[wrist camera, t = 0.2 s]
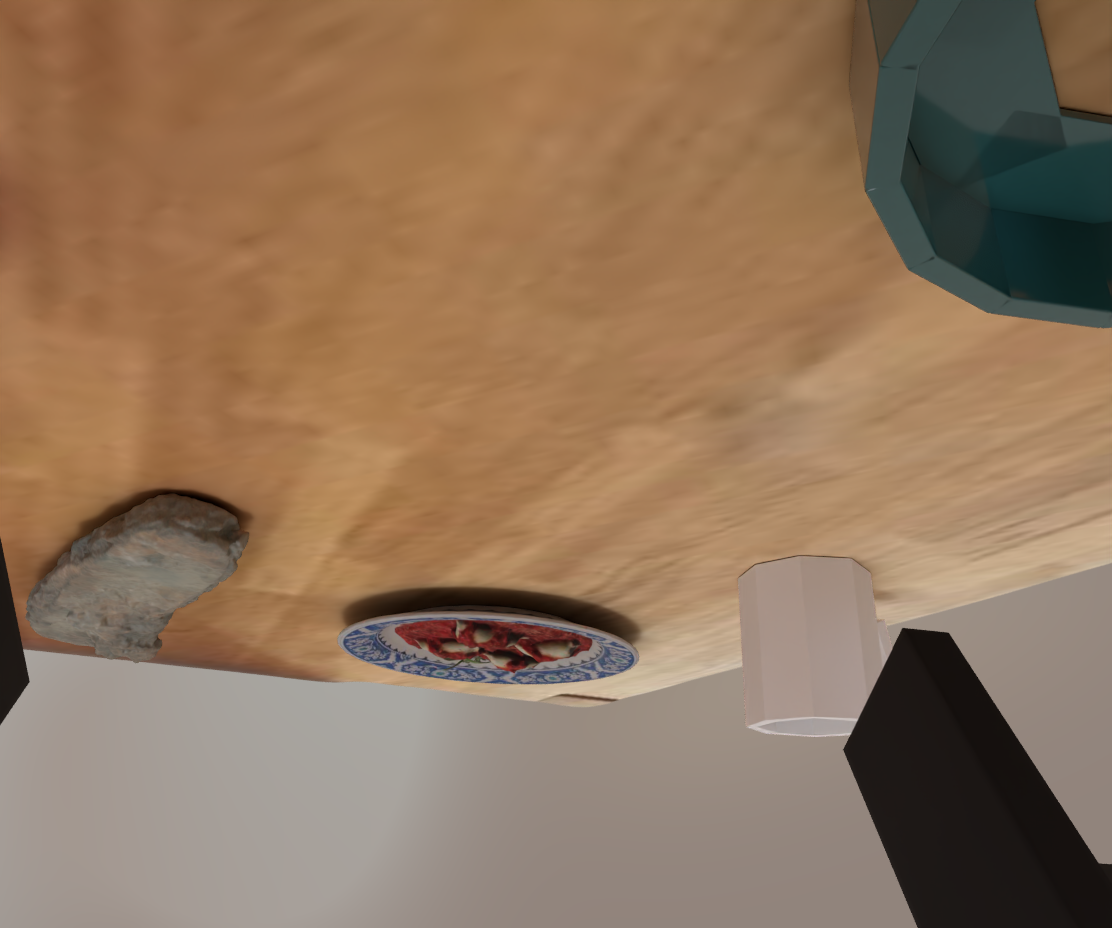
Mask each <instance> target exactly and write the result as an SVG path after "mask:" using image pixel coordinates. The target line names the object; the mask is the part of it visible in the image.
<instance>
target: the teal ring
mask: <svg viewBox="0 0 1112 928" xmlns="http://www.w3.org/2000/svg"><path fill="white" fill-rule="evenodd" d="M1035 1H1036V0H856V9H855V20H854V32H853V44H852V56H851V68H850V80H849V89H850V96H851V102H852V109H853V116H854V122H855V129H856V136H857V142H858V149H859V155H860V162H861V169H862V175H863V182H864V188H865V192H866V194H867V196H868V197H869V199H870V201H871V203H872V205H873V207H874V209H875V210H876V212H877V214H878V216H879V218H880V220H881V221H882V223H883V225H884V227H885V229H886V231H887V233H888V234H889V236H890V238H891V240H892V242H893V244H894V245H895V247H896V249H897V251H898V253H899V255H900V257H901V258H902V260H903V262H904V264H905V266H906V267H907V268H908V270H909V271H911V272H913V273H915V274H917V275H918V276H920V277H922V278H924V279H926V280H928V281H929V282H931V283H933V284H935V285H937V286H939V287H941V288H942V289H944V290H946V291H948V292H950V293H952V294H953V295H955V296H957V297H959V298H961V299H963V300H965V301H966V302H968V303H970V304H972V305H974V306H976V307H977V308H979V309H981V310H983V311H985V312H987V313H991V314H998V315H1005V316H1012V317H1020V318H1027V319H1035V320H1042V321H1049V322H1057V323H1064V324H1072V325H1079V326H1087V327H1094V328H1100V327H1101V328H1112V117H1107V116H1101V115H1095V114H1089V113H1084V112H1078V111H1072V110H1066V109H1060V108H1059V103H1058V99H1057V95H1056V91H1055V86H1054V82H1053V78H1052V74H1051V69H1050V65H1049V61H1048V57H1047V53H1046V48H1045V44H1044V40H1043V36H1042V31H1041V27H1040V23H1039V19H1038V14H1037V10H1036V6H1035Z"/></svg>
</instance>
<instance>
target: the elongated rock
mask: <svg viewBox="0 0 1112 928" xmlns="http://www.w3.org/2000/svg"><path fill="white" fill-rule="evenodd" d="M248 539H249V532H246V531H242V530H240V528H239V524H238V520H237V517H236V516H234V515H233V514H231V513H229V512H228V511H226V510H224V509H222V508H219V507H217V506H214V505H213V504H211V503H206V502H203V501H199V500H197V499H191V498H189V497H187V496H186V497H184V496H179V495H177V494H175V493H172V494H167V495H158V496H156V497H155V498H149V499H147V500H146V501H145V502H144V503H142V504H141V505H137V506H134V507H133V508H132V509H131V510H130V511H128V512H126V513H124V514H121V515H119V516H117V517H113V518H112V519H111V520H110V521H108V522H106V523H105V524H104V525H103V526H101V527H98V528H96V529H94V531H93V532H91V533H90V534H88V535H86V536H83V537H81V538H79V539H78V540H76V541H74V542H73V545H72V548H71V552H65V553H63V554H62V555H61V557H60V558H59V559H58V562H57V566H56V567H54V569H53V571H51V572H49V573H48V574H47V575H46V576H45V578H44V579H42V580H40V581H39V582H38V583H37V584H36V585H35V587H34V588H33V589H32V591H31V593H30V595H29V598H28V601H27V608H26V610H27V611H28V612H27V613H26V619H27V620H28V621H30V626H31V627H32V628H33V630H35V631H36V633H38V634H39V635H41V636H43V637H47V638H50V639H54V640H58V641H62V642H67V643H71V644H75V645H83V646H90V647H94V648H95V653H96V654H97V655H103V656H104V657H106V658H108V659H115V658H116V657H122V656H125V657H128V658H130V659H131V660H132V661H133V662H135V663H138V662H140V661H142V660H150V659H152V658H153V657H155V656H156V654H157V652H158V650H159V649H160V648H161V646H162V640H160V639H159V638H158V634H159V633H161V632H162V631H163V629H164V628H165V626H166V625H167V624H168V621H169V620H170V619H171V617H172V615H173V612H174V611H175V610H176V609H177V608H180V607H185V606H186V605H187V604H189V603H191V602H194V601H195V600H198V597H199V596H200V595H201V594H202V593H204V592H209V591H211V590H212V589H213V588H214V587H216V586H217V585H218V584H219V582H222V581H224V580H226V579H227V578H228V577H229V576H231V575H232V574H233V573H234V571H236V569H237V568H238V565H237V563H236V562H237V560H238V559H239V558H240V557H241V556H242V551H243V550H244V549H245V547H246V545H247V542H248Z"/></svg>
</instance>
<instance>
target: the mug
mask: <svg viewBox="0 0 1112 928" xmlns="http://www.w3.org/2000/svg"><path fill="white" fill-rule="evenodd" d="M738 589H739V607H740V626H741V645H742V663H743V682H744V700H745V719H746V727H747V728H751V729H754V730H757V731H760V732H763V733H767V734H780V735H795V736H796V735H797V736H810V737H811V736H812V737H823V736H843V735H851V733H852V731H853V729H854V727H855V725H856V722H857V720H858V718H859V716H860V714H861V712H862V710H863V708H864V706H865V704H866V702H867V700H868V698H869V696H870V694H871V692H872V690H873V688H874V686H875V683H876V681H877V679H878V677H879V675H880V673H881V671H882V669H883V667H884V665H885V663H886V661H887V659H888V657H889V655H890V653H891V651H892V649H893V647H892V643H891V640H890V637H889V633H888V630H887V627H886V623H885V620H881V619H876V610H875V602H874V594H873V586H872V578H871V573H870V572H869V571H867V570H866V569H865V568H863V567H862V566H861V565H859V564H858V563H857V562H855V561H854V560H853V559H851V558H832V557H812V556H797V557H792V558H787V559H782V560H777V561H772V562H767V563H762V564H757V565H754V566H753V567H752V568H751V569H749V570H748V571H747V572H745V573H744V574H743V575H742V576H740V577H739V578H738Z"/></svg>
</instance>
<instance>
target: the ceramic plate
mask: <svg viewBox="0 0 1112 928" xmlns="http://www.w3.org/2000/svg"><path fill="white" fill-rule="evenodd" d="M338 644H339V646H340V647H341V648H342V649H343V650H344V651H345V652H346V653H348V654H350V655H352V656H354V657H355V658H357V659H359V660H362V661H364V662H367V663H370V664H373V665H376V666H379V667H382V668H386V669H390V670H394V671H398V672H403V673H408V674H413V675H419V676H426V677H434V678H441V679H448V680H455V681H466V682H480V683H495V684H554V683H568V682H579V681H589V680H595V679H601V678H605V677H609V676H613V675H616V674H619V673H622V672H625V671H627V670H629V669H631V668H632V667H633V666H635V665H636V664H637V662H638V661H639V654H638V651H637V650H636V648H635V647H634V646H633V645H631V644H630V643H628V642H627V641H625V640H624V639H622V638H620V637H618V636H615V635H613V634H610V633H608V632H605V631H602V630H599V629H596V628H592V627H588V626H584V625H579V624H575V623H573V622H570V621H568V620H565V619H563V618H560V617H557V616H554V615H550V614H545V613H541V612H536V611H531V610H526V609H518V608H510V607H499V606H479V605H460V606H441V607H434V608H428V609H423V610H417V611H412V612H409V613H401V614H394V615H386V616H379V617H375V618H371V619H367V620H364V621H361V622H357V623H354V624H352V625H350V626H348V627H347V628H345V629H343V630H342V631H341V632H340V634H339V636H338Z"/></svg>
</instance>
